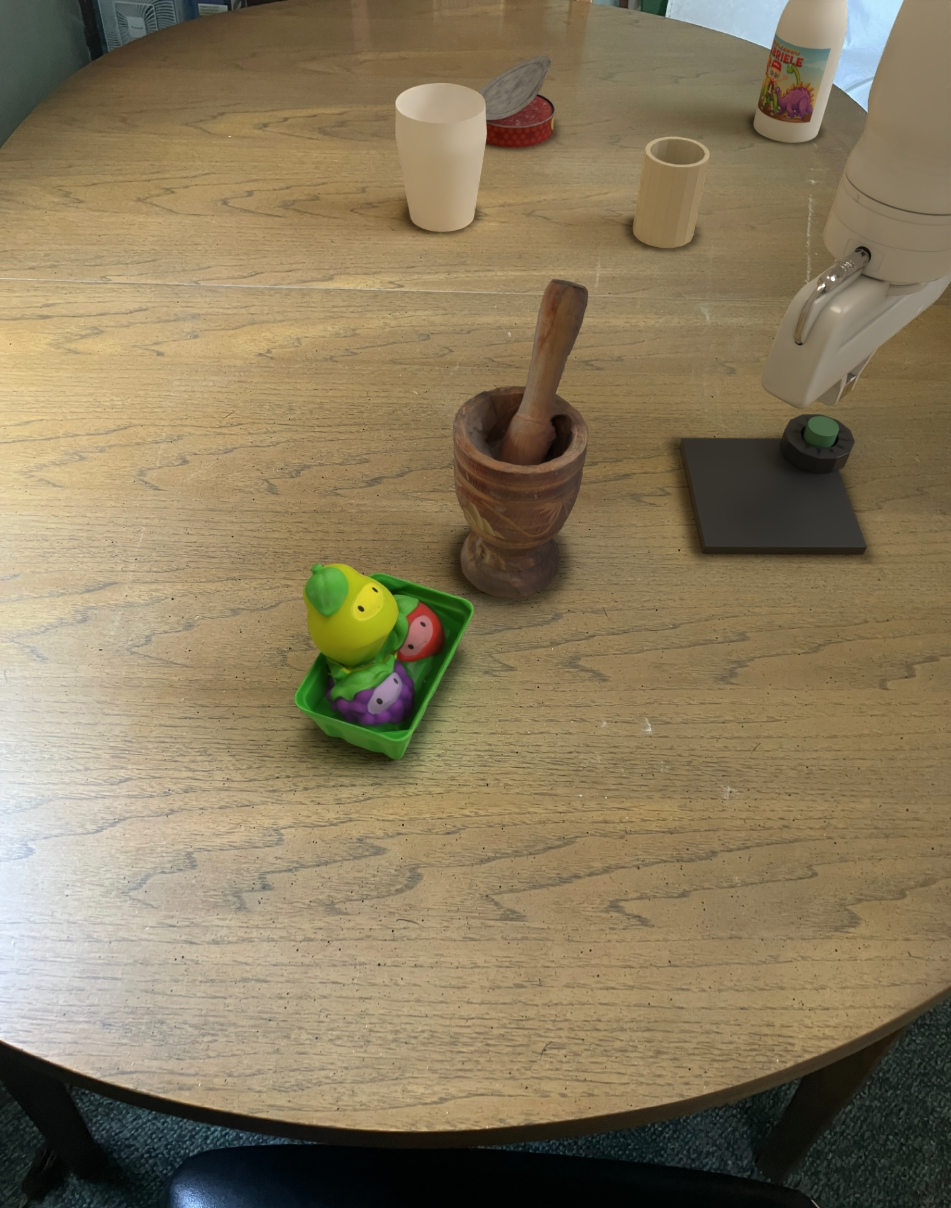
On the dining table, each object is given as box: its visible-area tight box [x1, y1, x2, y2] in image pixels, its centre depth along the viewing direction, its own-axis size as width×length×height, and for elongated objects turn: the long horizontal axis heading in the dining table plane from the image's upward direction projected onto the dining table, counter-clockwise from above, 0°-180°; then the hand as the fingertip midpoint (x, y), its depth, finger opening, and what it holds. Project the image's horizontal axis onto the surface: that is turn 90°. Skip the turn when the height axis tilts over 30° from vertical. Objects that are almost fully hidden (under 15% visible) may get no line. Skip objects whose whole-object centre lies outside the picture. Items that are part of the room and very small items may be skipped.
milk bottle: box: [753, 0, 849, 144], centre depth 107 cm, size 8×8×20 cm
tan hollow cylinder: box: [632, 136, 711, 249], centre depth 95 cm, size 6×6×9 cm
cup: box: [394, 82, 487, 233], centre depth 96 cm, size 9×9×12 cm
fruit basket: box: [293, 562, 475, 761], centre depth 58 cm, size 11×9×11 cm
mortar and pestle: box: [452, 278, 589, 599], centre depth 63 cm, size 12×9×20 cm
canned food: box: [478, 55, 556, 149], centre depth 111 cm, size 11×10×10 cm
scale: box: [679, 413, 868, 555], centre depth 74 cm, size 13×13×3 cm
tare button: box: [803, 416, 839, 448], centre depth 75 cm, size 2×2×1 cm
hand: (832, 394), depth 72 cm, fingers closed
